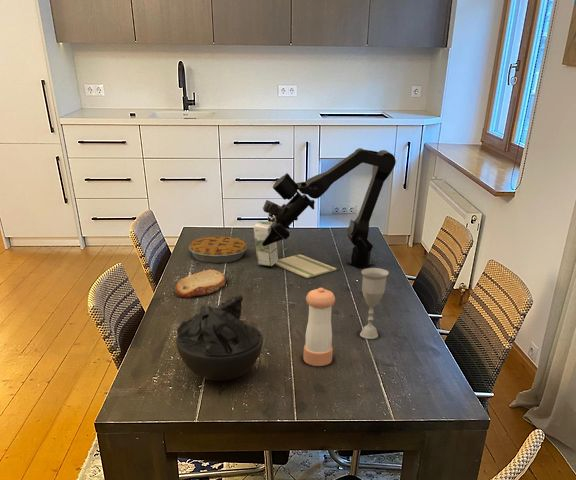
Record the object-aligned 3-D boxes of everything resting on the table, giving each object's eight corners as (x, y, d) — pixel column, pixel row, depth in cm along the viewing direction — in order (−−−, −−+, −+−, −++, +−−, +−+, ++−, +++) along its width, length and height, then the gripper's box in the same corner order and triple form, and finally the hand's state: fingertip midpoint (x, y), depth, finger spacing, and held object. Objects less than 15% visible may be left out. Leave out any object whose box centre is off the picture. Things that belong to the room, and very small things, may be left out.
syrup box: (278, 260, 210) (275, 221, 202) (271, 267, 206) (267, 227, 198) (264, 258, 212) (260, 219, 204) (257, 265, 208) (252, 225, 200)
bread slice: (221, 274, 201) (221, 264, 199) (234, 293, 186) (234, 282, 184) (169, 279, 196) (168, 269, 194) (178, 299, 181) (177, 288, 179)
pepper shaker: (299, 363, 147) (301, 291, 137) (308, 350, 153) (311, 281, 143) (327, 368, 145) (331, 295, 135) (335, 355, 151) (340, 285, 141)
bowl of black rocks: (192, 404, 129) (186, 326, 120) (170, 364, 145) (163, 293, 135) (275, 387, 136) (276, 312, 127) (246, 351, 152) (245, 282, 142)
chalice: (364, 342, 158) (370, 278, 149) (351, 332, 163) (356, 270, 154) (387, 337, 161) (394, 274, 152) (372, 327, 166) (379, 266, 157)
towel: (299, 255, 221) (300, 253, 220) (336, 269, 207) (336, 268, 207) (270, 262, 213) (270, 261, 212) (307, 278, 200) (307, 276, 199)
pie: (245, 265, 210) (245, 251, 208) (184, 263, 210) (183, 250, 208) (249, 246, 229) (249, 234, 227) (193, 245, 229) (193, 232, 227)
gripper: (274, 186, 205) (243, 218, 209) (279, 198, 189) (246, 233, 193) (296, 208, 209) (266, 240, 214) (303, 222, 193) (270, 256, 198)
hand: (261, 241), depth 204 cm, fingers closed on syrup box, 8 cm apart
